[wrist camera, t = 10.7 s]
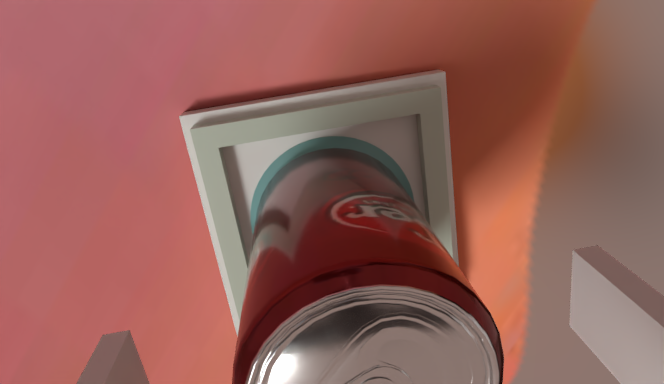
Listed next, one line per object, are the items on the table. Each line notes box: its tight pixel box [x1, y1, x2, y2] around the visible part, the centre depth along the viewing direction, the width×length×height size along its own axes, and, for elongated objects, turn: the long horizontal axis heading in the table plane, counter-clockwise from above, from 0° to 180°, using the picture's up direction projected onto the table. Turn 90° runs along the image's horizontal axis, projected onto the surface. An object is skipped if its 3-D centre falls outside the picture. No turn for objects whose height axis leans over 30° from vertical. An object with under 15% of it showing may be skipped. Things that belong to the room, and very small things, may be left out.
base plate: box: [179, 69, 459, 337], centre depth 24 cm, size 12×12×2 cm
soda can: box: [232, 148, 504, 384], centre depth 18 cm, size 7×7×12 cm
